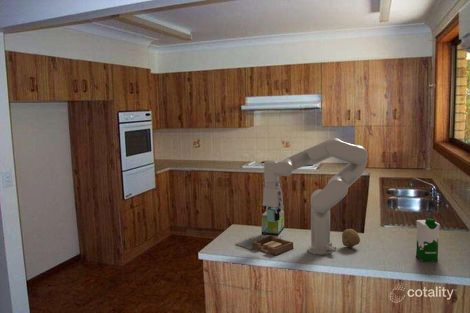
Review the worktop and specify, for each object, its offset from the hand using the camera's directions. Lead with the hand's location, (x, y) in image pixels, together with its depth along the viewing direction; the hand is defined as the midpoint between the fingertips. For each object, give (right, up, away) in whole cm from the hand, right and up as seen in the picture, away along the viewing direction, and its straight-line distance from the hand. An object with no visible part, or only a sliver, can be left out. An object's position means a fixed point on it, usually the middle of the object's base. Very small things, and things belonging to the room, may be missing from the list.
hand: (273, 219), depth 211 cm
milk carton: (+72, -16, -17) cm, 75 cm away
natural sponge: (+40, -15, 0) cm, 43 cm away
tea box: (+2, -14, +20) cm, 25 cm away
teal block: (0, -1, 0) cm, 1 cm away
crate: (0, -16, +2) cm, 16 cm away
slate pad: (-11, -15, +9) cm, 21 cm away
